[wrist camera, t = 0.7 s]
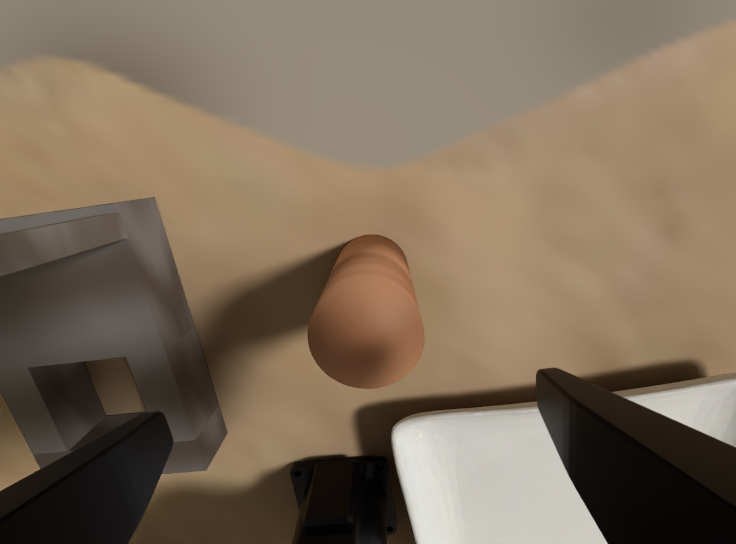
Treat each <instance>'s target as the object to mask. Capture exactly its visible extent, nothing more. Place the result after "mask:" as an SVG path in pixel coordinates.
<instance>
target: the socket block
mask: <svg viewBox="0 0 736 544" xmlns="http://www.w3.org/2000/svg"><path fill="white" fill-rule="evenodd" d="M122 357H126V359H127V362H128V364H129V367H130V370H131V372H132V375H133V377H134V380H135V383H136V385H137V388H138V390H139V393H140V396H141V398H142V401H143V403H144V406H145V409H146V411H147V412H153V411H161V412H163V413H164V415H165V417H166V419H167V422H168V425H169V428H170V430H171V433H172V436H173V448H172V451H171V453H170V455H169V458H168V460H167V462H166V465H165V467H164V469H163V471H162V474H170V473H182V472H195V471H206V470H207V468H208V466H209V465H210V463H211V461H212V459H213V458H214V456H215V454H216V452H217V451H218V449H219V447H220V445H221V444H222V442H223V440H224V438H225V436H226V435H227V429H226V426H225V423H224V420H223V416H222V413H221V410H220V407H219V404H218V400H217V397H216V394H215V391H214V387H213V384H212V381H211V378H210V375H209V371H208V368H207V365H206V362H205V358H204V355H203V352H202V349H201V346H200V342H199V339H198V336H197V333H196V329H195V326H194V323H193V320H192V317H191V313H190V310H189V307H188V304H187V300H186V297H185V294H184V291H183V287H182V284H181V281H180V278H179V275H178V271H177V268H176V265H175V262H174V258H173V255H172V252H171V249H170V246H169V242H168V239H167V236H166V233H165V229H164V226H163V223H162V220H161V217H160V213H159V210H158V207H157V204H156V200H155V197H152V198H145V199H138V200H131V201H124V202H117V203H110V204H103V205H96V206H89V207H82V208H75V209H68V210H61V211H54V212H47V213H40V214H33V215H26V216H19V217H12V218H5V219H0V392H1V394H2V396H3V397H4V399H5V401H6V403H7V405H8V407H9V409H10V411H11V413H12V415H13V417H14V419H15V421H16V422H17V424H18V426H19V428H20V430H21V432H22V434H23V436H24V438H25V440H26V442H27V444H28V446H29V448H30V449H31V451H32V453H33V455H34V457H35V459H36V461H37V463H38V465H39V467H40V469H42V468H44V467H45V466H47V465H49V464H51V463H53V462H55V461H56V460H58V459H60V458H62V457H64V456H65V455H67V454H69V453H71V452H73V451H75V450H76V449H78V448H80V447H82V446H84V445H85V444H87V443H89V442H91V441H93V440H95V439H96V438H98V437H100V436H102V435H104V434H106V433H107V432H109V431H111V430H113V429H115V428H116V427H118V426H120V425H122V424H124V423H126V422H127V421H129V420H131V419H133V418H135V417H137V416H138V415H140V414H142V413H145V412H140V413H130V414H119V415H108V416H106V414H105V412H104V410H103V407H102V405H101V403H100V400H99V398H98V396H97V393H96V391H95V389H94V386H93V384H92V382H91V379H90V377H89V375H88V372H87V370H86V367H85V365H84V363H83V362H84V361H94V360H103V359H112V358H122Z"/></svg>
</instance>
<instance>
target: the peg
mask: <svg viewBox="0 0 736 544" xmlns="http://www.w3.org/2000/svg"><path fill="white" fill-rule="evenodd" d="M308 344H309V348H310V351H311V354H312V356H313V358H314V360H315V361H316V363H317V364H318V366H319V367H320V368H321V369H322V370H323V371H324V372H325V373H326V374H327V375H328V376H330V377H331V378H333V379H334V380H336V381H338V382H340V383H342V384H344V385H347V386H351V387H355V388H364V389H371V388H379V387H383V386H387V385H390V384H392V383H395V382H396V381H398V380H400V379H401V378H403V377H404V376H406V375H407V374H408V373H409V372H410V371H411V370H412V369H413V367H414V366H415V365H416V363H417V362H418V360H419V358H420V356H421V354H422V350H423V347H424V328H423V324H422V320H421V316H420V312H419V308H418V304H417V300H416V296H415V292H414V288H413V284H412V280H411V276H410V272H409V268H408V264H407V260H406V257H405V255H404V253H403V251H402V250H401V248H400V247H399V246H398V245H397V244H396V243H395V242H393V241H392V240H390V239H388V238H386V237H383V236H380V235H364V236H360V237H357V238H355V239H353V240H352V241H350V242H349V243H348V244H347V245H346V246H345V247H344V248H343V249H342V251H341V252H340V254H339V256H338V259H337V261H336V263H335V265H334V267H333V270H332V272H331V274H330V276H329V279H328V281H327V283H326V285H325V287H324V290H323V292H322V294H321V296H320V298H319V301H318V303H317V305H316V307H315V310H314V312H313V314H312V316H311V319H310V322H309V326H308Z"/></svg>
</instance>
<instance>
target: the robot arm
mask: <svg viewBox="0 0 736 544" xmlns="http://www.w3.org/2000/svg"><path fill="white" fill-rule="evenodd" d="M536 396H537V406H538V409H539V412H540V414H541V417H542V419H543V421H544V423H545V425H546V428H547V430H548V432H549V434H550V437H551V439H552V441H553V443H554V445H555V448H556V450H557V452H558V454H559V456H560V459H561V461H562V463H563V465H564V467H565V470H566V472H567V474H568V476H569V478H570V479H571V481H572V483H573V485H574V487H575V489H576V490H577V492H578V494H579V495H580V497H581V499H582V501H583V502H584V504H585V506H586V507H587V509H588V511H589V513H590V514H591V516H592V518H593V519H594V521H595V523H596V525H597V526H598V528H599V530H600V532H601V533H602V535H603V537H604V538H605V540H606V542H607V544H736V447H734V446H732V445H730V444H727V443H725V442H723V441H721V440H718V439H716V438H714V437H712V436H709V435H707V434H705V433H703V432H700V431H698V430H696V429H694V428H691V427H689V426H687V425H685V424H682V423H680V422H678V421H676V420H673V419H671V418H669V417H667V416H664V415H662V414H660V413H658V412H655V411H653V410H651V409H649V408H646V407H644V406H642V405H639V404H637V403H635V402H633V401H630V400H628V399H626V398H624V397H621V396H619V395H617V394H615V393H612V392H610V391H608V390H606V389H603V388H601V387H599V386H597V385H594V384H592V383H590V382H588V381H585V380H583V379H581V378H579V377H576V376H574V375H572V374H570V373H567V372H565V371H563V370H561V369H558V368H546V369H539V370H538V371H537V374H536ZM172 448H173V436H172V433H171V430H170V428H169V425H168V422H167V419H166V417H165V415H164V413H163V412H161V411H153V412H145V413H142V414H140V415H138V416H137V417H135V418H133V419H131V420H129V421H127V422H126V423H124V424H122V425H120V426H118V427H116V428H115V429H113V430H111V431H109V432H107V433H106V434H104V435H102V436H100V437H98V438H96V439H95V440H93V441H91V442H89V443H87V444H85V445H84V446H82V447H80V448H78V449H76V450H75V451H73V452H71V453H69V454H67V455H65V456H64V457H62V458H60V459H58V460H56V461H55V462H53V463H51V464H49V465H47V466H45V467H44V468H42V469H40V470H38V471H36V472H34V473H33V474H31V475H29V476H27V477H25V478H24V479H22V480H20V481H18V482H16V483H14V484H13V485H11V486H9V487H7V488H5V489H3V490H2V491H0V544H128V543H129V541H130V539H131V538H132V536H133V534H134V532H135V530H136V528H137V526H138V524H139V522H140V520H141V519H142V517H143V515H144V513H145V510H146V508H147V506H148V504H149V502H150V499H151V497H152V495H153V492H154V490H155V488H156V485H157V483H158V481H159V478H160V476H161V474H162V471H163V469H164V467H165V465H166V462H167V460H168V458H169V455H170V453H171V451H172ZM378 464H381V465H378ZM298 471H300V472H298ZM290 476H291V479H292V483H293V487H294V491H295V495H296V499H297V503H298V507H299V511H300V512H299V516H298V520H297V524H296V529H295V533H294V537H293V542H292V544H387V535H390V534H394V533H395V532H396V531H397V524H396V517H395V510H394V504H393V497H392V490H391V484H390V477H389V471H388V464H387V460H386V459H385V458H384V457H379V456H378V457H366V458H353V459H341V460H328V461H316V462H303V463H295V464H294V465H293V466H292V468H291V471H290Z"/></svg>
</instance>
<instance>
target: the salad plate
mask: <svg viewBox="0 0 736 544" xmlns="http://www.w3.org/2000/svg"><path fill="white" fill-rule="evenodd" d="M612 393H615V394H617V395H619V396H621V397H624V398H626V399H628V400H630V401H633V402H635V403H637V404H639V405H642V406H644V407H646V408H649V409H651V410H653V411H655V412H658V413H660V414H662V415H664V416H667V417H669V418H671V419H673V420H676V421H678V422H680V423H682V424H685V425H687V426H689V427H691V428H694V429H696V430H698V431H700V432H703V433H705V434H707V435H709V436H712V437H714V438H716V439H718V440H721V441H723V442H725V443H727V444H730V445H732V446H734V447H736V373H730V374H722V375H716V376H710V377H705V378H699V379H693V380H687V381H681V382H675V383H669V384H662V385H656V386H650V387H643V388H636V389H629V390H622V391H616V392H612ZM391 445H392V451H393V456H394V461H395V466H396V470H397V475H398V478H399V482H400V486H401V490H402V494H403V497H404V501H405V505H406V508H407V512H408V516H409V520H410V524H411V527H412V531H413V535H414V539H415V543H416V544H607V542H606V540H605V538H604V537H603V535H602V533H601V532H600V530H599V528H598V526H597V525H596V523H595V521H594V519H593V518H592V516H591V514H590V513H589V511H588V509H587V507H586V506H585V504H584V502H583V501H582V499H581V497H580V495H579V494H578V492H577V490H576V489H575V487H574V485H573V483H572V481H571V479H570V478H569V476H568V474H567V472H566V470H565V467H564V465H563V463H562V461H561V459H560V456H559V454H558V452H557V450H556V448H555V445H554V443H553V441H552V439H551V437H550V434H549V432H548V430H547V428H546V425H545V423H544V421H543V419H542V417H541V414H540V412H539V409H538V406H537V401H536V402H527V403H518V404H508V405H497V406H487V407H476V408H464V409H450V410H438V411H429V412H422V413H417V414H413V415H410V416H408V417H405V418H403V419H402V420H400V421H399V422H397V423H396V424H395V426H394V427H393V429H392V432H391Z"/></svg>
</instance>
